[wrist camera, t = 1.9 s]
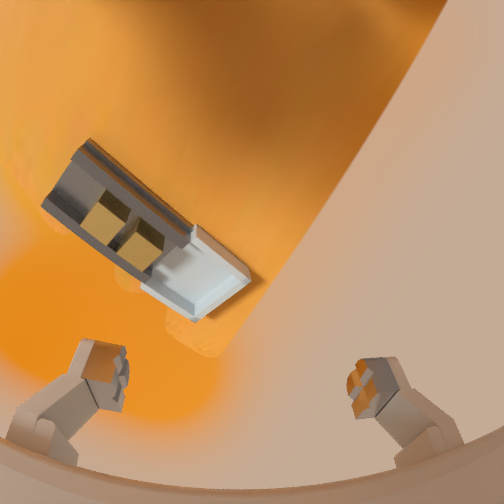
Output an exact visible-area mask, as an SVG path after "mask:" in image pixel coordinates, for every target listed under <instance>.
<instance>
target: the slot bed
mask: <svg viewBox="0 0 504 504" xmlns="http://www.w3.org/2000/svg"><path fill="white" fill-rule="evenodd" d="M71 160H72V161H71V163H70V164H69V166H68V167H67V168H66V170H65V171H64V173H63V174H62V176H61V177H60V179H59V180H58V182H57V184H56V185H55V187H54V188H53V190H52V191H51V192H50V193H49V194H48V195H47V197H46V198H45V199H44V201H43V203H42V205H41V207H42V208H43V209H45V210H46V211H47V212H48V213H50V214H51V215H52V216H53V217H54V218H56V219H57V220H58V221H59V222H61V223H62V224H63V225H65V226H66V227H67V228H68V229H70V230H71V231H72V232H73V233H75V234H76V235H78V236H79V237H80V238H81V239H83V240H84V241H85V242H87V243H88V244H89V245H91V246H92V247H93V248H95V249H96V250H97V251H99V252H100V253H102V254H103V255H104V256H105V257H107V258H108V259H110V260H111V261H112V262H114V263H115V264H117V265H118V266H119V267H121V268H122V269H124V270H125V271H126V272H128V273H129V274H131V275H132V276H134V277H135V278H137V279H138V280H139V281H141V282H142V283H144V284H145V283H146V282H147V281H148V280H149V279H150V278H151V276H152V270H153V267H154V266H155V265H157V264H158V263H159V262H160V261H161V260H162V259H163V258H164V257H165V256H166V255H167V254H168V253H169V252H170V251H171V250H173V249H174V248H175V247H176V246H178V247H179V248H181V249H183V248H184V247H185V246H186V245H187V244H189V243H190V238H191V232H192V231H193V228H194V226H193V225H191V224H190V223H189V222H188V221H187V220H185V219H184V218H183V217H182V216H181V215H179V214H178V213H177V212H176V211H175V210H173V209H172V208H171V207H170V206H169V205H168V204H166V203H165V202H164V201H163V200H162V199H160V198H159V197H158V196H157V195H156V194H154V193H153V192H152V191H151V190H150V189H149V188H147V187H146V186H145V185H144V184H143V183H141V182H140V181H139V180H138V179H137V178H136V177H134V176H133V175H132V174H131V173H130V172H129V171H127V170H126V169H125V168H124V167H123V166H121V165H120V164H119V163H118V162H117V161H116V160H114V159H113V158H112V157H111V156H110V155H109V154H108V153H106V152H105V151H104V150H103V149H102V148H101V147H99V146H98V145H97V144H96V143H95V142H94V141H92V140H91V139H90V138H89V139H88V140H87V141H86V142H85V143H84V144H83V145H82V146H81V147H80V148H78V149H77V151H76V152H75V154H74V155H73V156H72V158H71ZM105 189H107V190H108V191H109V192H110V193H112V194H113V195H114V196H115V197H116V198H118V199H119V200H120V201H121V202H123V203H124V204H125V205H126V206H127V207H129V208H130V209H131V211H130V214H129V216H128V219H127V222H126V224H125V225H124V226H123V227H122V228H121V230H120V231H119V232H118V233H117V234H116V235H115V236H114V238H113V239H112V240H111V241H110V242H109V243H108V245H107V246H105V245H104V244H103V243H101V242H100V241H99V240H98V239H96V238H95V237H94V236H92V235H91V234H90V233H88V232H87V231H86V230H84V229H83V228H82V227H81V226H80V224H81V223H82V221H83V219H84V218H85V216H86V214H87V213H88V211H89V210H90V209H91V207H92V206H93V205H94V203H95V202H96V201H97V199H98V198H99V197H100V196H101V194H102V193H103V192H104V191H105ZM140 217H141V218H142V219H144V220H145V221H146V222H147V223H149V224H150V225H151V226H152V227H154V228H155V229H156V230H157V231H159V232H160V233H161V234H163V235H164V236H165V241H164V248H163V253H162V254H161V255H159V256H158V257H157V258H156V259H155V260H154V261H153V262H152V263H151V264H150V265H149V266H148V267H147V268H146V269H145V270H144V271H143V272H141V271H140V270H139V269H137V268H136V267H134V266H133V265H132V264H130V263H129V262H127V261H126V260H125V259H123V258H122V257H120V256H119V255H118V254H116V252H117V250H118V247H119V244H120V241H121V238H122V237H123V235H124V234H125V233H126V232H127V231H128V230H129V229H130V228H131V227H132V225H133V224H134V223H135V222H136V221H137V220H138V219H139V218H140Z"/></svg>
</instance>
